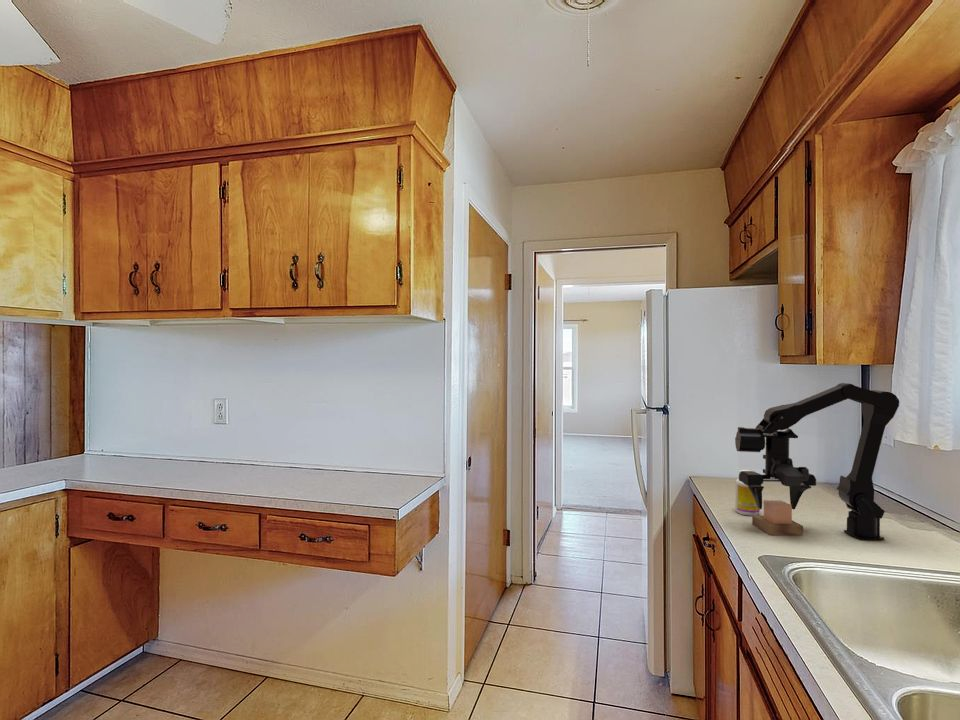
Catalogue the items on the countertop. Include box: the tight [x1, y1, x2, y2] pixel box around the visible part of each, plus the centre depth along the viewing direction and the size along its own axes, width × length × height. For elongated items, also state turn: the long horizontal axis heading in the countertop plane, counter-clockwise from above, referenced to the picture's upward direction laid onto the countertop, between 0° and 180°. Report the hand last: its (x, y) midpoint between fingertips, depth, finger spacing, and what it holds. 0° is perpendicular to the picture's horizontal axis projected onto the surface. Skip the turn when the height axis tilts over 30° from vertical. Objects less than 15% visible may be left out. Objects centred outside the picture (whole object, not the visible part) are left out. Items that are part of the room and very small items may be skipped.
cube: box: [762, 499, 793, 524], centre depth 144 cm, size 5×5×5 cm
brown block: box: [751, 515, 804, 536], centre depth 144 cm, size 9×9×2 cm
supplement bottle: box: [735, 469, 761, 517], centre depth 159 cm, size 7×7×13 cm
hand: (776, 509), depth 144 cm, fingers open, 9 cm apart
